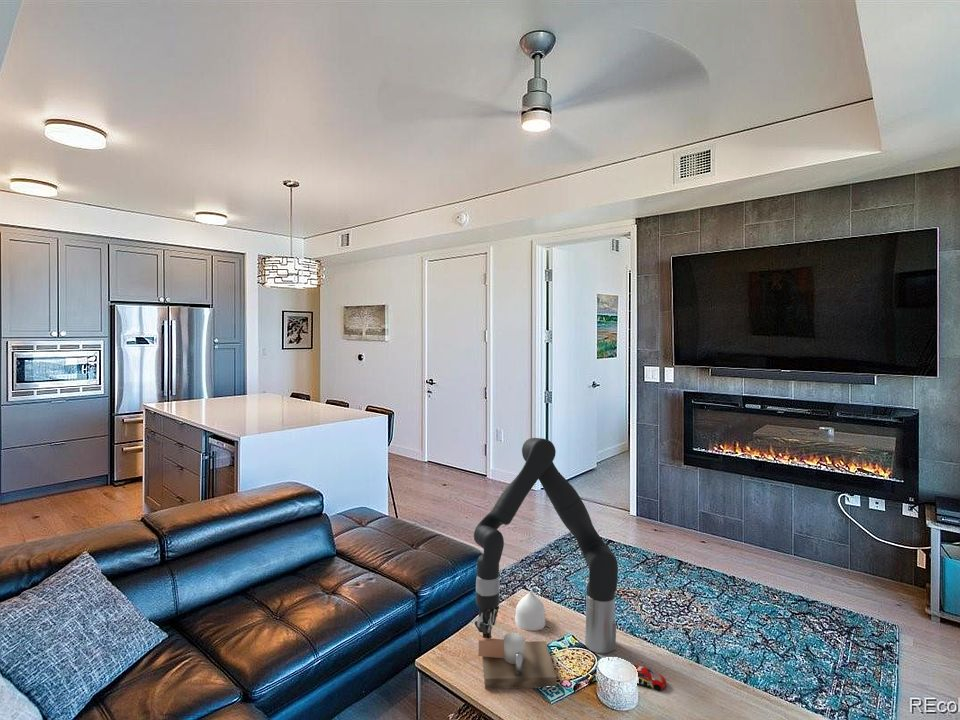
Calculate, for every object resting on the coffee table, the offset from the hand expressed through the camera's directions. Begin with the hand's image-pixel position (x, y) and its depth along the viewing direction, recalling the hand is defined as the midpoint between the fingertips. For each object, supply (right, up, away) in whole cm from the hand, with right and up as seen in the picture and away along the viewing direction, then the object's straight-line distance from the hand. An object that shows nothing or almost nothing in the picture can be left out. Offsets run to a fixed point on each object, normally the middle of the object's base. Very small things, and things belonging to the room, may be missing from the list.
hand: (486, 641), depth 162 cm
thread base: (+9, -6, -4) cm, 12 cm away
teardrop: (+16, -6, +23) cm, 28 cm away
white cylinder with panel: (+5, -3, -4) cm, 6 cm away
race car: (+47, -7, -9) cm, 48 cm away
